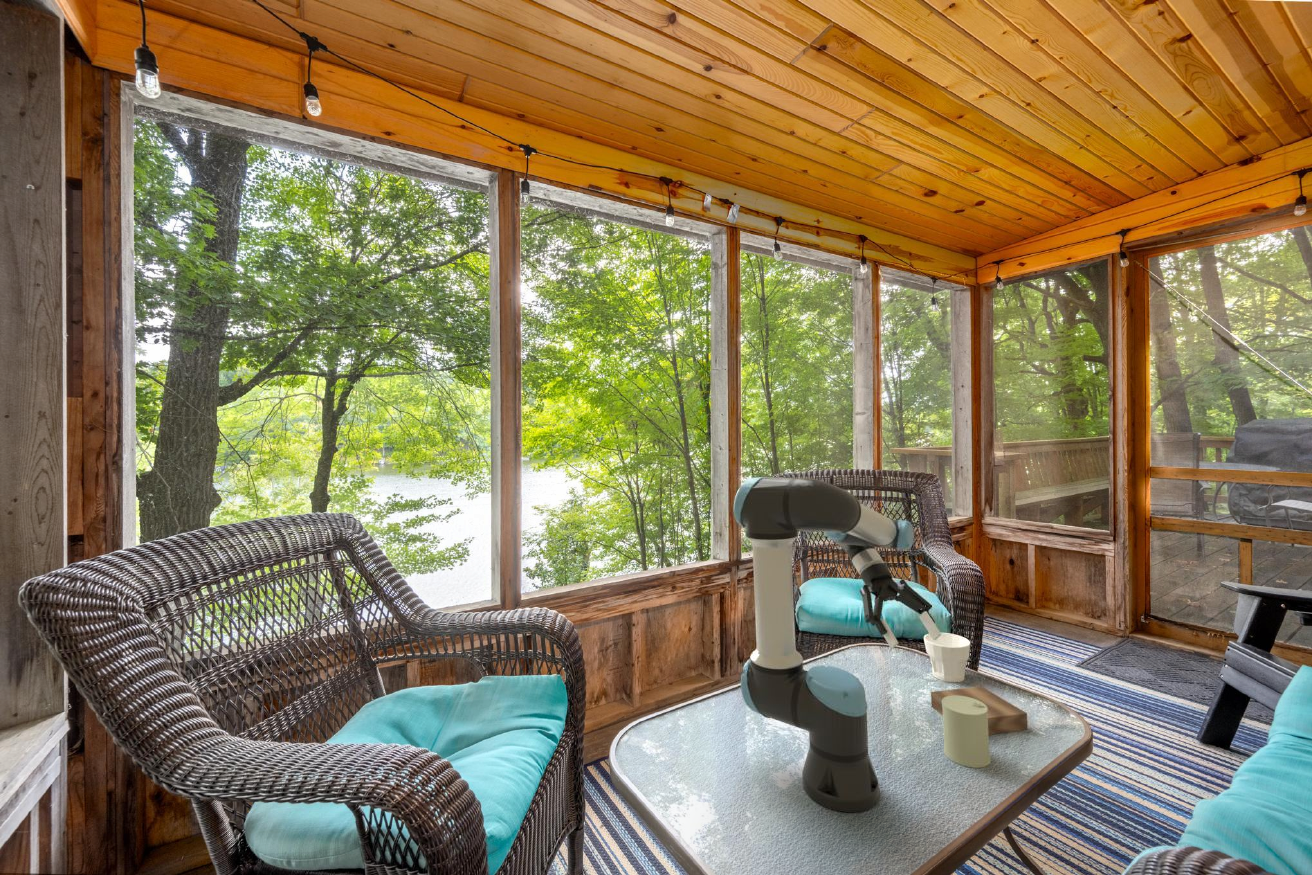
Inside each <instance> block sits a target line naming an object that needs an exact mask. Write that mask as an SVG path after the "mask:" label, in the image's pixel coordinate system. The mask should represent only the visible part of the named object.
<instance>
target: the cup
mask: <svg viewBox="0 0 1312 875" xmlns="http://www.w3.org/2000/svg"><path fill="white" fill-rule="evenodd" d="M940 633H941V634H942V635H940V636H939V637H938V638H937V639H936V640H933V638H932V637H931V635H930V633H929V632H928V633H927V634H925V635H923V642H924V647H925V652H926V653H927V654H928V656H929V658H930V659H929V660H930V662H931V667H932V668H931V669H932V676H933V677H934V678H935V679H937V680H939V681H942V682H947V683H961V682H963V681H965V674H966V668H967V667H966V666H967V661H968V660H969V657H970V650H971V641H970V640H969V639H967V638H966V637H963V636H962V635H958V634H955V633H948V632H940Z"/></svg>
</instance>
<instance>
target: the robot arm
mask: <svg viewBox="0 0 1312 875" xmlns="http://www.w3.org/2000/svg"><path fill="white" fill-rule="evenodd" d="M733 515H734V519H735V520H736V523H737V525H739V526H741V527H742V528H744V533H745V536H744V537H745V538H746V539H747V540H748V541H749V542H750V543H751V545H752V563H753V564H752V568H753V588H754V592H753V594H754V609H755V610H754V612H755V617H754V618H755V636H756V638H755V640H756V641H755V642H756V648H755V649H754V650H753V651H752V652H751V653H750V657H749V659H747V661H746V662H745V663H744V665H743V667H742V674H741V675H740V690H741V695H742V696H741V697H742V698H743V701H744V702H745V705H746V706H747V707H748V708H749V710H751V711H752V712H754V713H756V714H759V715H761V716H762V717H764V718H767V719H772V720H775V721H778V722H781V723H784V724H786V725H789V726H793V727H795V728H798V729H801V730H804V731H807V732H808V738H809V740H808V741H809V748H808V750H807V751H808V752H807V754H806V759H805V761H804V765H803V769H802V786H803V790H804V791H805V793H806V795H807V796H808V797H809V798H810V799H812V801H814V802H816V803H817V804H818V805H821V806H822V807H824V808H828V809H830V810H834V811H837V812H843V813H859V812H864V811H867V810H869V809H871V808H873V807H874V806H875V805H877V803H878V802H879V799H880V784H879V780H878V776H877V774H876V772H875V768H874V766H873V762H872V760H871V757H870V754H869V738H868V737H869V735H868V703H867V698H866V697H867V696H866V691H865V687H864V684H863V683H862V682H861V681H860V679H859V678H858V677H857V676H855V675H854V674H853V673H851V672H849V671H847V670H846V669H843V668H840V667H837V666H830V665H828V666H826V665H816V666H812V667H810V668H809V669H808V670H806V669H804V658H803V656H802V655H801V654H800V653H799V652H798V651H797V650H796V632H795V631H796V630H795V629H796V628H795V612H794V611H795V608H794V587H793V585H794V584H793V581H794V580H793V562H792V561H793V560H792V544H793V543H794V541H796V540H797V538H798V532H809V533H811V532H812V533H813V532H814V533H815V532H823V533H824V534H825V535H826V536H827V538H828V539H829V540H830V541H833V542H834V543H836V544H837V545H838V546H840V547H841V548H842V549H843V550H844V551H845V553H846V554H847V557H849V559H850V562H851V563H852V564H853V566H854V568H855V569H856V571H857V573H858V574H859V575H860V578H861V580H862V581H863V583H864V584H863V586H862V587H861V588H860V589H859V593H860V596H861V598H862V606H863V607H862V608H863V615H864V622H865V623H867V624H869V623H870V625H871V626H872V627H873V626H874V627H875V628H876V629H877V631H878V632H879V635H881V636H883V638H884V640H885V642H886V643H887V644H888V646H889V648H890V649H894V648H895V647H896V646H898V645H899V642H898V640H897V638H896V636H895V635H894V633H893V632H892V630H891V628H890V626H889V624H888V623H887V620H886V619H885V618H882V612H883V607H884V603H885V602H888V601H896V602H900V603H901V604H903V605H904V606H906V607H908V608H909V609H911V610H913V611H914V612H916V613H917V614H919V616H918V617H919V619H920V621H921V623H922V624H923V626H924V627H925V629H926V630H927V631H928V634H929V633H930V635H931V637H932V638H933V640H936V639H937V638H938V637H939V636H940V635H942V634H941V633H942V632H941V631H940V630H939V628H938V627H937V625H936V624H935V623H936V620H935V619H934V617H933V616H932V615H931V613H930V610H932V608H933V605H932V604H931V603H930V602H929V601H928V600H926V599H925V598H924V597H923V596H922V595H920V593H918V592H917V591H915V590H914V589H913V588H912V587H911V586H909V584H908V583H907V582H906V580H904V579H903V578H902V579H900V580H899V581H897V582H896V581H895V580H894V579H893V577H892V572H891V571H890V569H889V567H888V566H887V565H886V563H885V562H884V560H883V559H882V557H881V555H880V554H879V552H878V551H877V550H876V548H880V549H881V548H882V549H892V550H897V551H899V550H903V551H904V550H905V551H907V550H908V551H909V550H910V549H911V548H912V546H913V544H914V538H915V537H914V536H915V533H914V526H913V525H912V523H911V522H910V521H908V520H902V519H901V520H900V519H891V518H889V517H887V516H885V515H883V514H881V513H880V512H877V511H875V510H873V509H872V508H871V507H868V506H866V505H864V504H862V503H861V502H860V500H859V499H858V497H856V496H855V495H854V494H853V493H851V492H849V491H848V490H845V489H843V488H841V487H838V486H836V485H834V484H831V483H828V482H825V481H824V480H820V479H815V478H810V477H783V476H782V477H775V476H773V477H771V476H760V477H751V478H748V479H746V480H745V481H743V483H741V485H740V487H739V489H737V492H736V495H735V496H734V502H733ZM872 595H873V596H874V600H872ZM873 602H874V605H873Z"/></svg>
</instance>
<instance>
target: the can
mask: <svg viewBox="0 0 1312 875" xmlns="http://www.w3.org/2000/svg"><path fill="white" fill-rule="evenodd" d="M942 709H943V715H942V719H943V720H942V724H943V753H944V755H945V756H946V757H947V758H948V759H949V760H950V761H952V762H954V763H955V764H958V765H960V766H965V767H969V768H976V769H977V768H978V769H979V768H985V767H987V766H989V765H990V764H991V761H992V759H991V753H990V741H989V740H990V739H989V738H990V735H988V708H987V706H986V705H985V704H984V703H982V702H980V701H978V700H976V699H973V698H970V697H966V696H959V695H952V696H946V697H944V698H943V699H942Z"/></svg>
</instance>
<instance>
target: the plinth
mask: <svg viewBox="0 0 1312 875" xmlns="http://www.w3.org/2000/svg"><path fill="white" fill-rule="evenodd" d="M952 695H959V696H966V697H970V698H973V699H976V700H978V701H980V702H982V703H984V704H985V705H986V706H987V708H988V736H990V735H996V734H997V735H998V734H1003V733H1004V734H1006V733H1013V732H1021V731H1028V729H1029V728H1028V713H1027V712H1026V711H1024V710H1023V709H1020V708H1019V707H1017V706H1016V705H1013V704H1012V703H1010V702H1008V701H1007V700H1005V699H1004V698H1003V697H1000V696H999V695H997V694H995V693H993V692H992V691H990V690H988V689H987V688H985V687H983V686H972V687H971V686H970V687H961V688H954V689H946V690H934V691H930V702H931V703H930V705H931V708H932V709H933V710H935V711H936V712H938V713H939V714H940V715H942V716H943V709H942V699H943V698H944V697H946V696H952Z"/></svg>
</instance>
